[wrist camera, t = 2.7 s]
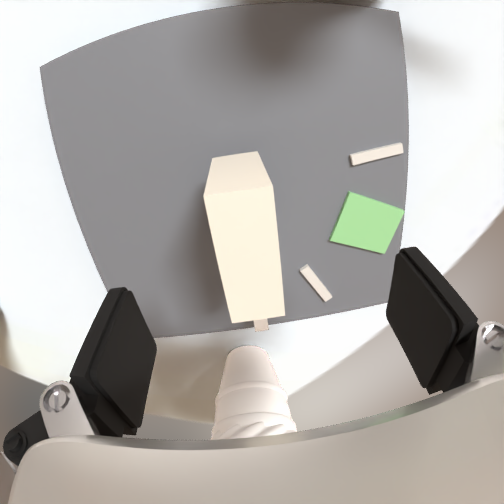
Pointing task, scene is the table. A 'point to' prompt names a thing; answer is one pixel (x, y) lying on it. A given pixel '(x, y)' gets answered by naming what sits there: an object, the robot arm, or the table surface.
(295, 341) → the table surface
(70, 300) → the table surface
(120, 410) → the robot arm
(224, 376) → the soft serve ice cream cone
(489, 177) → the table surface
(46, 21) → the table surface
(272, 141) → the plate
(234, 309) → the peg head
